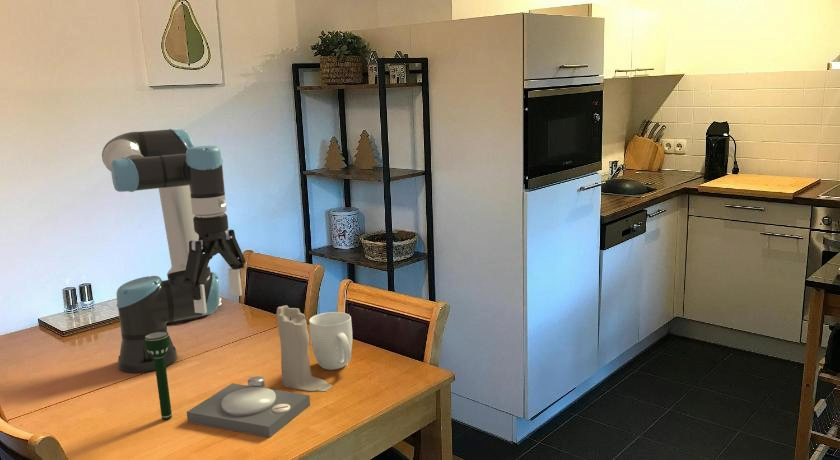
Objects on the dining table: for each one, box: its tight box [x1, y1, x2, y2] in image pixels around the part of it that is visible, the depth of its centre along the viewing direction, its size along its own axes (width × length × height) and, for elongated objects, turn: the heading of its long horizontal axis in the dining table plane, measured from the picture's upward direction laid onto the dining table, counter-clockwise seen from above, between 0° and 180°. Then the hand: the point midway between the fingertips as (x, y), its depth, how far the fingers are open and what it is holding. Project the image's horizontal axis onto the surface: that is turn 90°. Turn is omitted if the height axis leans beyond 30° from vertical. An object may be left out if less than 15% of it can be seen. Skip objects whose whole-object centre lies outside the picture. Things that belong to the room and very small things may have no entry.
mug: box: [308, 311, 353, 371], centre depth 179 cm, size 15×11×13 cm
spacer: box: [247, 375, 266, 388], centre depth 169 cm, size 4×4×2 cm
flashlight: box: [145, 331, 173, 421], centre depth 153 cm, size 5×5×20 cm
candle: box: [276, 304, 333, 392], centre depth 169 cm, size 7×14×20 cm, turn 61°
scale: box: [186, 382, 311, 439], centre depth 156 cm, size 22×16×4 cm
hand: (219, 303), depth 160 cm, fingers open, 13 cm apart
